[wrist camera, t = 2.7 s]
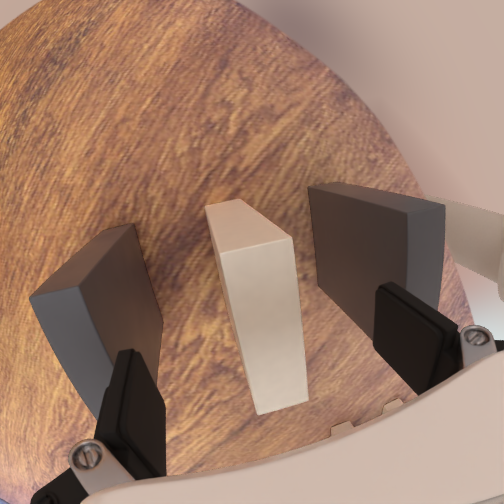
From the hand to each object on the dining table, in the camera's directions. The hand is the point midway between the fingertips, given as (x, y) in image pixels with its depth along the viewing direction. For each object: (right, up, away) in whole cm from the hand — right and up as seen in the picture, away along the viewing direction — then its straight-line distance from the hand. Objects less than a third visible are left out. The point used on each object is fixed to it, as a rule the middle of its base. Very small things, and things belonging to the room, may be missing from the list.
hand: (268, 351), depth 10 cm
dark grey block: (+5, +5, +12) cm, 14 cm away
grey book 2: (-9, +2, +10) cm, 14 cm away
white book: (-2, +3, +11) cm, 11 cm away
